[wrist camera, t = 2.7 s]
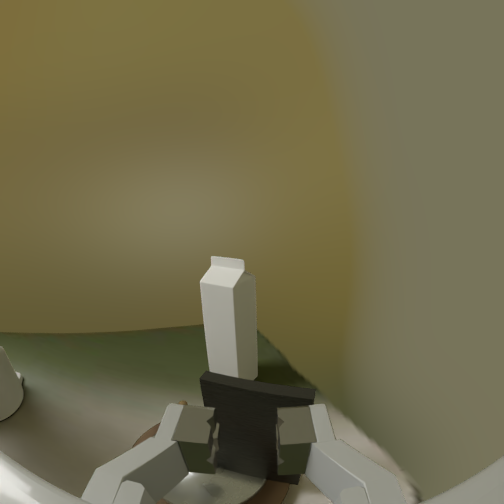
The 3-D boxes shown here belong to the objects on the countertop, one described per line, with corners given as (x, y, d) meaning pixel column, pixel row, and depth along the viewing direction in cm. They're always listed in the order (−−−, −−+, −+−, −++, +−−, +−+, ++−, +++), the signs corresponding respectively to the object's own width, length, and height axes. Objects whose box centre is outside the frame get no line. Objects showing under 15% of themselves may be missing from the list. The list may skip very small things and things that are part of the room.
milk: (230, 367, 48) (222, 252, 44) (258, 376, 45) (255, 255, 40) (210, 383, 43) (197, 259, 38) (239, 395, 40) (232, 264, 35)
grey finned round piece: (121, 478, 19) (66, 385, 16) (187, 404, 35) (170, 314, 32) (279, 537, 14) (292, 475, 10) (312, 430, 29) (326, 335, 26)
